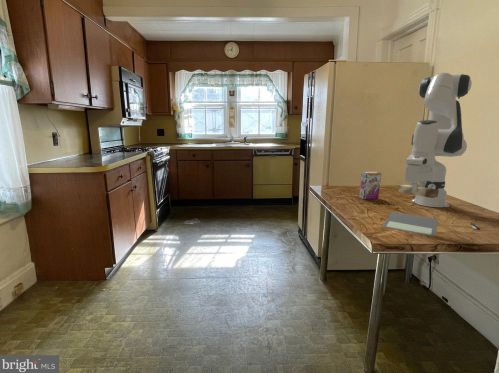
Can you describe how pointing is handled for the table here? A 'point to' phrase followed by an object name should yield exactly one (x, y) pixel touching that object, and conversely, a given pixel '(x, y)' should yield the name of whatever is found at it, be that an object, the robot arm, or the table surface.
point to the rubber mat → (411, 224)
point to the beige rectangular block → (419, 191)
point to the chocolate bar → (474, 226)
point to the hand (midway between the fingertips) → (417, 191)
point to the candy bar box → (370, 185)
